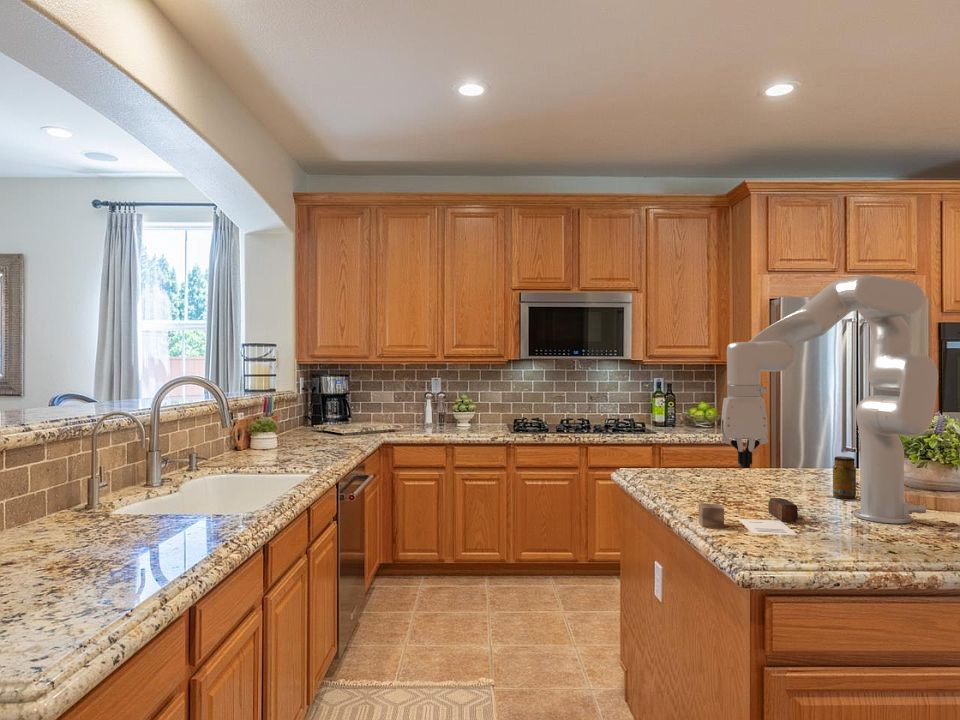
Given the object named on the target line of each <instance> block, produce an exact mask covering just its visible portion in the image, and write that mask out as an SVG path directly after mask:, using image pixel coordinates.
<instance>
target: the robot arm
mask: <svg viewBox="0 0 960 720" xmlns="http://www.w3.org/2000/svg"><path fill="white" fill-rule="evenodd" d="M925 301H926V296H925V292H924V291H923V288H921V287H920V286H919V285H918V284H917V283H916V282H914V281H911V280H905V279H899V278H892V277H886V276H881V275H880V276H877V275H871V274H869V275H868V274H867V275H866V274H865V275H857V276H852V277H846V278H841V279H837V280H835V281H832V282H831V283H829V284H828V285H826V287H824V288H823V289H822V290H821V291H819V292H818V293H817V294H816V295H815V296H813V297H812V298H811V299H810V300H809V301H807V302H806V303H805V304H804V305H802V306H801V307H800V308H799V309H797V310H796V311H794V312H792V313H790V314H788V315H787V316H784V317H783V318H781V319H780V320H778V321H776V322H774V323H772V324H770V325H769V326H767V327H765V328H764V329H762V330H761V331H760V332H759V333H757V334H756V335H755V336H754V337H752V338H751V339H750V340H749V341H737V342H736V341H735V342H730V343H729V344H728V345H727V347H726V375H727V376H726V380H727V381H726V383H727V385H726V386H727V387H726V389H727V391H726V392H727V394H726V395H727V396H726V397H723V402H722V408H721V419H720V420H721V422H720V432H721V439H720V442H722V443H724V444H728V445H730V446H732V447H733V448H735V450H737V464H738V465H739V466H740V468H742V469H746V468H747V469H750V468H751V465H752V464H753V452H754V451H755V449H756V448H757V447H758V446H759V445H765V444H768V443H769V437H768V434H769V426H768V424H769V423H768V417H767V410H766V409H767V408H766V404H765V398H763V397H761V396H762V395H763V394H767V393H768V389H767V387H763V386H762V385H761V372H783V371H787V370H788V369H790V368H791V367H792V366H794V364H795V362H796V360H797V354H796V353H797V352H796V351H795V348H794V347H793V346H796V345H799V344H801V343H802V344H803V343H806V342H809V341H813V340H814V339H817V338H819V337H822V336H823V335H825V334H826V333H827V332H828V331H830V330H831V329H832V328H833V327H834V326H835V325H837V324H838V323H839V322H840V321H842V320H843V319H844V318H845V317H846V316H848V315H849V314H850V313H852V312H854V311H856V312H858V313H859V315H860V316H861V317H862V318H863V319H864V320H865V322H866V323H867V324H868V326H869V328H870V330H871V333H872V340H871V341H872V342H871V343H872V344H871V351H870V355H869V357H870V358H869V362H868V364H869V365H868V370H867V371H868V373H867V374H868V375H867V376H868V382H869V384H870V385H871V386H872V387H873V388H875V389H877V390H880V391H881V390H882V391H893V392H899V396H897V395H885V394H883V395H881V394H879V395H877V394H874V395H869V396H866V397H864V398H863V399H861V400H860V401H859V402H858V403H857V406H856V409H855V418H856V419H855V420H856V423H857V428H858V433H859V441H860V498H861V500H860V508H857V509H854V510H853V516H854V517H857V518H859V519H861V520H865V521H870V522H876V523H883V524H909V523H911V522H912V521H913V517H912V514H913V513H914V514H915V513H917V514H926V513H927V507H926V506H925V505H915V504H910V502H906V501H905V449H904V445H903V443H902V440H901V438H900V436H909V437H910V436H911V437H913V436H914V437H915V436H916V437H917V436H920V435H923V434H925V433H927V431H928V430H929V429H930V426H931V425H932V421H933V418H934V413H935V406H936V399H937V394H938V386H939V370H938V368H937V366H936V363H935V361H933V359H932V358H931V357H929V356H928V355H926V354H922V353H917V352H916V353H915V352H914V353H912V352H911V350H912V349H911V348H912V331H911V330H910V327H909V325H908V323H907V322H906V321H905V319H904V318H903V317H908V316H911V315H912V316H913V315H914V314H917V313H918V312H919V311H920V310H921V309H922V308H923V307H924V304H925ZM899 435H900V436H899ZM743 440H746V444H745V448H744V443H743Z"/></svg>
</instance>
